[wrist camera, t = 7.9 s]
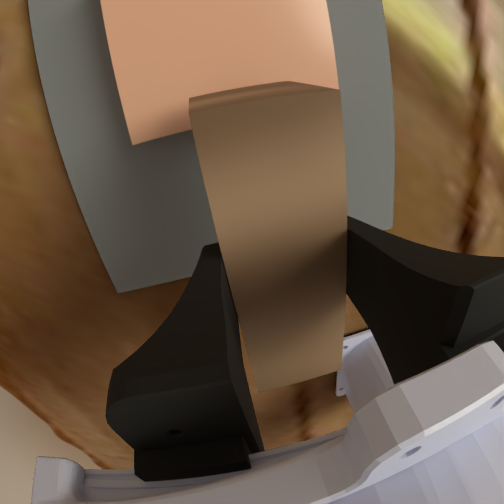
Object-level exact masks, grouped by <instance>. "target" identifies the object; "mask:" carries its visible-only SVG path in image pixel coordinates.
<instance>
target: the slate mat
mask: <svg viewBox="0 0 504 504" xmlns="http://www.w3.org/2000/svg"><path fill="white" fill-rule="evenodd" d="M326 2H327V8H328V13H329V19H330V25H331V32H332V38H333V45H334V52H335V60H336V68H337V76H338V85H339V90H340V93H341V104H342V116H343V129H344V144H345V162H346V188H347V216H350V217H353V218H355V219H357V220H360V221H362V222H364V223H367V224H369V225H371V226H374V227H376V228H378V229H381V230H387V229H391V228H392V224H393V207H394V179H395V132H394V105H393V89H392V76H391V65H390V55H389V46H388V38H387V31H386V23H385V17H384V11H383V5H382V0H326ZM28 7H29V15H30V23H31V29H32V36H33V42H34V48H35V53H36V59H37V64H38V69H39V73H40V78H41V82H42V87H43V91H44V95H45V99H46V103H47V107H48V111H49V115H50V118H51V122H52V125H53V129H54V132H55V136H56V139H57V142H58V146H59V149H60V152H61V155H62V158H63V161H64V164H65V167H66V170H67V173H68V176H69V179H70V182H71V185H72V187H73V190H74V193H75V195H76V198H77V201H78V203H79V206H80V209H81V211H82V214H83V216H84V219H85V221H86V224H87V226H88V229H89V231H90V233H91V236H92V238H93V240H94V243H95V245H96V247H97V250H98V252H99V254H100V256H101V259H102V261H103V263H104V265H105V267H106V270H107V272H108V274H109V276H110V278H111V280H112V282H113V284H114V286H115V288H116V291H117V293H123V292H127V291H132V290H136V289H140V288H145V287H149V286H153V285H158V284H162V283H166V282H171V281H175V280H179V279H183V278H188V277H192V274H193V272H194V270H195V268H196V265H197V263H198V260H199V257H200V254H201V251H202V248H203V247H204V246H205V245H209V244H213V243H217V242H218V237H217V233H216V229H215V225H214V221H213V217H212V213H211V209H210V205H209V200H208V196H207V192H206V188H205V184H204V179H203V175H202V171H201V166H200V162H199V158H198V153H197V149H196V145H195V140H194V136H193V131H192V129H191V130H187V131H183V132H179V133H175V134H171V135H167V136H164V137H160V138H156V139H153V140H149V141H145V142H142V143H139V144H135V145H132V142H131V138H130V134H129V131H128V127H127V123H126V119H125V115H124V111H123V107H122V103H121V99H120V95H119V91H118V87H117V82H116V78H115V74H114V69H113V64H112V60H111V55H110V50H109V45H108V40H107V35H106V30H105V24H104V19H103V13H102V7H101V1H100V0H28Z"/></svg>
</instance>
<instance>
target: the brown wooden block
mask: <svg viewBox="0 0 504 504" xmlns="http://www.w3.org/2000/svg"><path fill="white" fill-rule="evenodd" d="M189 118H190V122H191V127H192V131H193V136H194V140H195V145H196V149H197V153H198V158H199V162H200V166H201V171H202V175H203V179H204V184H205V188H206V192H207V196H208V200H209V205H210V209H211V213H212V217H213V221H214V225H215V229H216V233H217V237H218V242H219V246H220V250H221V254H222V257H223V261H224V265H225V269H226V273H227V277H228V281H229V285H230V289H231V293H232V296H233V300H234V304H235V308H236V312H237V315H238V319H239V323H240V327H241V330H242V334H243V338H244V341H245V345H246V349H247V352H248V356H249V360H250V363H251V367H252V371H253V374H254V378H255V381H256V385H257V388H258V392H259V393H260V392H264V391H268V390H272V389H276V388H280V387H284V386H288V385H291V384H295V383H299V382H302V381H306V380H309V379H313V378H316V377H319V376H323V375H326V374H329V373H332V372H335V371H339V370H341V365H342V353H343V339H344V324H345V305H346V280H347V188H346V162H345V144H344V129H343V116H342V104H341V93H340V90H338V89H333V88H328V87H323V86H317V85H311V84H305V83H299V82H292V81H282V82H274V83H267V84H260V85H253V86H247V87H241V88H236V89H230V90H225V91H220V92H215V93H210V94H205V95H200V96H196V97H192V98H189Z"/></svg>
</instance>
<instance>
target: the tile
mask: <svg viewBox="0 0 504 504" xmlns="http://www.w3.org/2000/svg"><path fill="white" fill-rule="evenodd" d="M100 1H101V7H102V13H103V19H104V24H105V30H106V35H107V40H108V45H109V50H110V55H111V60H112V64H113V69H114V74H115V78H116V82H117V87H118V91H119V95H120V99H121V103H122V107H123V111H124V115H125V119H126V123H127V127H128V131H129V134H130V138H131V142H132V145H135V144H139V143H142V142H145V141H149V140H153V139H156V138H160V137H164V136H167V135H171V134H175V133H179V132H183V131H187V130H191V129H192V127H191V122H190V118H189V98H192V97H196V96H200V95H205V94H210V93H215V92H220V91H225V90H230V89H236V88H241V87H247V86H253V85H260V84H267V83H274V82H282V81H292V82H299V83H305V84H311V85H317V86H323V87H328V88H333V89H338V90H339V85H338V76H337V68H336V60H335V52H334V45H333V38H332V32H331V25H330V19H329V13H328V8H327V2H326V0H100Z"/></svg>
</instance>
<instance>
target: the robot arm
mask: <svg viewBox="0 0 504 504" xmlns="http://www.w3.org/2000/svg"><path fill="white" fill-rule="evenodd" d="M346 293H347V295H348V296H349V298H350V299H351V301H352V302H353V304H354V305H355V307H356V308H357V310H358V311H359V313H360V314H361V316H362V317H363V319H364V320H365V322H366V324H367V325H368V327H369V330H366V331H363V332H360V333H357V334H354V335H351V336H348V337H344V339H343V353H342V365H341V370H339V371H337V379H336V392H335V393H336V395H337V396H342V395H345V394H346V396H347V398H348V401H349V403H350V405H351V407H352V410H353V412H354V415H353V416H352V418H351V419H350V421H349V423H348V425H347V427H346V428H344V429H341V430H338V431H335V432H332V433H329V434H326V435H323V436H319V437H316V438H313V439H309V440H306V441H302V442H299V443H295V444H291V445H288V446H284V447H280V448H276V449H271V450H267V451H265V450H264V447H263V443H262V439H261V435H260V431H259V427H258V423H257V419H256V415H255V411H254V407H253V403H252V399H251V395H250V391H249V387H248V382H247V378H246V374H245V369H244V364H243V358H242V350H241V342H240V333H239V324H238V315H237V312H236V308H235V304H234V300H233V296H232V293H231V289H230V285H229V281H228V277H227V273H226V269H225V265H224V261H223V257H222V254H221V250H220V246H219V242H217V243H213V244H209V245H205V246H204V247H203V248H202V251H201V254H200V257H199V260H198V263H197V265H196V268H195V270H194V272H193V274H192V277H191V279H190V281H189V283H188V285H187V287H186V289H185V291H184V293H183V294H182V296H181V298H180V300H179V301H178V303H177V304H176V306H175V308H174V309H173V311H172V312H171V313H170V315H169V316H168V317H167V319H166V320H165V321H164V322H163V323H162V325H161V326H160V327H159V328H158V330H157V331H156V332H155V333H154V334H153V335H152V336H151V337H150V338H149V339H148V340H147V341H146V342H145V343H144V344H143V345H142V346H141V347H140V348H139V349H138V350H137V351H135V352H134V353H133V354H132V355H131V356H129V357H128V358H127V359H126V360H125V361H123V362H122V363H121V364H120V365H118V366H117V367H116V368H114V369H113V372H112V376H111V380H110V383H109V389H108V396H107V405H106V415H105V416H106V420H107V423H108V424H109V426H110V427H111V428H112V429H113V430H114V431H115V432H116V433H117V434H118V435H119V436H120V437H121V438H122V439H123V440H124V441H125V442H127V443H128V444H129V445H130V446H131V447H132V448H133V449H134V469H110V470H98V469H97V470H95V469H84V468H83V467H82V466H80V465H79V464H78V463H76V462H75V461H72V460H70V459H66V458H58V457H57V458H56V457H42V456H38V457H36V464H35V471H34V479H33V488H32V498H31V504H504V257H488V256H476V255H468V254H461V253H455V252H450V251H445V250H440V249H436V248H432V247H428V246H425V245H422V244H418V243H415V242H412V241H409V240H406V239H403V238H401V237H398V236H395V235H393V234H390V233H388V232H385V231H383V230H381V229H378V228H376V227H374V226H371V225H369V224H367V223H364V222H362V221H360V220H357V219H355V218H353V217H350V216H347V280H346Z"/></svg>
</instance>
